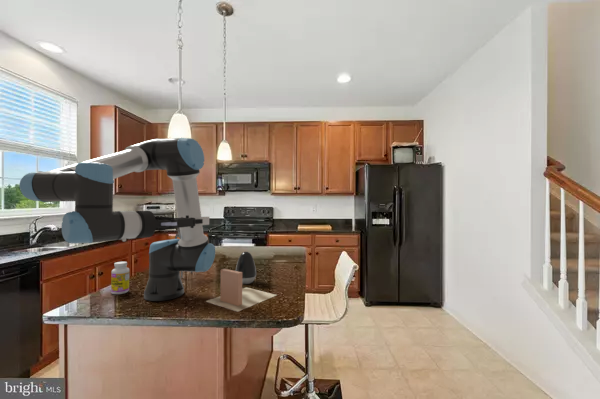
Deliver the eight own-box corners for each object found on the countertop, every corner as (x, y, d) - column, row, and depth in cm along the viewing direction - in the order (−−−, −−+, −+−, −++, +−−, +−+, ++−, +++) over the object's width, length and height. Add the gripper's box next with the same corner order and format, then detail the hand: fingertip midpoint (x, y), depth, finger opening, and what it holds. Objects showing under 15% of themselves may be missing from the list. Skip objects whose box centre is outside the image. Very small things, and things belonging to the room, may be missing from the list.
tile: (238, 305, 104) (238, 273, 104) (220, 300, 110) (220, 269, 110) (242, 304, 106) (242, 272, 106) (224, 298, 112) (224, 268, 112)
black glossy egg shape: (255, 279, 143) (255, 249, 143) (256, 285, 133) (257, 253, 133) (235, 280, 141) (235, 250, 141) (234, 286, 131) (235, 253, 131)
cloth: (237, 313, 98) (237, 311, 98) (205, 303, 109) (205, 301, 109) (277, 296, 117) (277, 294, 117) (246, 289, 127) (246, 287, 127)
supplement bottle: (107, 294, 118) (107, 264, 118) (118, 289, 125) (118, 260, 125) (122, 295, 118) (122, 264, 118) (132, 290, 125) (132, 261, 125)
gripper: (124, 236, 81) (196, 230, 100) (147, 240, 73) (220, 232, 93) (124, 210, 81) (196, 209, 100) (148, 211, 73) (220, 210, 93)
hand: (207, 220), depth 96 cm, fingers closed
